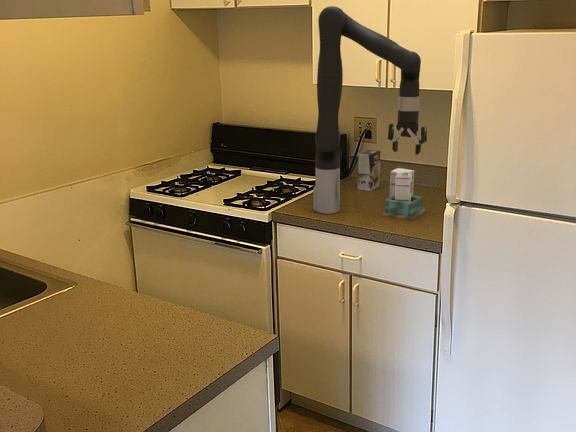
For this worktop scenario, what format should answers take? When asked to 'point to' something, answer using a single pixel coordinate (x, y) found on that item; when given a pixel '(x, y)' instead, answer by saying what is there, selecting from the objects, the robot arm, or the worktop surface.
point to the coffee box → (368, 170)
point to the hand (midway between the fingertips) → (406, 152)
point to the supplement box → (392, 179)
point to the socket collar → (404, 208)
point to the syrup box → (403, 186)
